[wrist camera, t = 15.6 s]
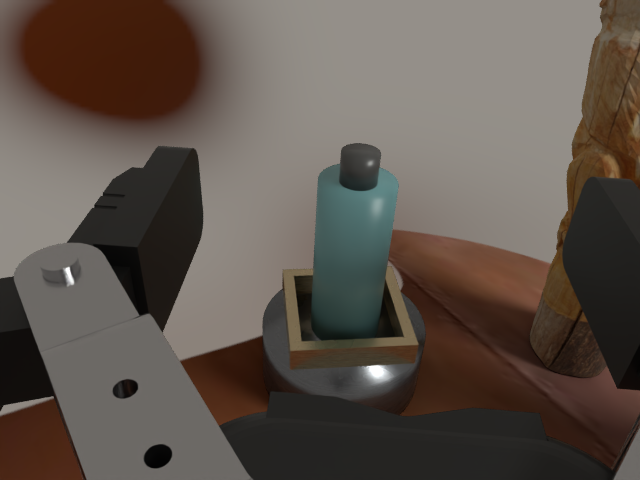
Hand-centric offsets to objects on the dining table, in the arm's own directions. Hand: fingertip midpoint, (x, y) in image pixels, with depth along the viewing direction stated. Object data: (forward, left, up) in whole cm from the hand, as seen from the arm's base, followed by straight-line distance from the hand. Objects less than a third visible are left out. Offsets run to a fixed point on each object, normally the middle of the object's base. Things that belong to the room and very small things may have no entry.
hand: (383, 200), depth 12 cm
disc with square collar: (-4, -21, -28) cm, 35 cm away
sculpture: (-23, -23, -29) cm, 43 cm away
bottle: (-4, -21, -23) cm, 32 cm away
